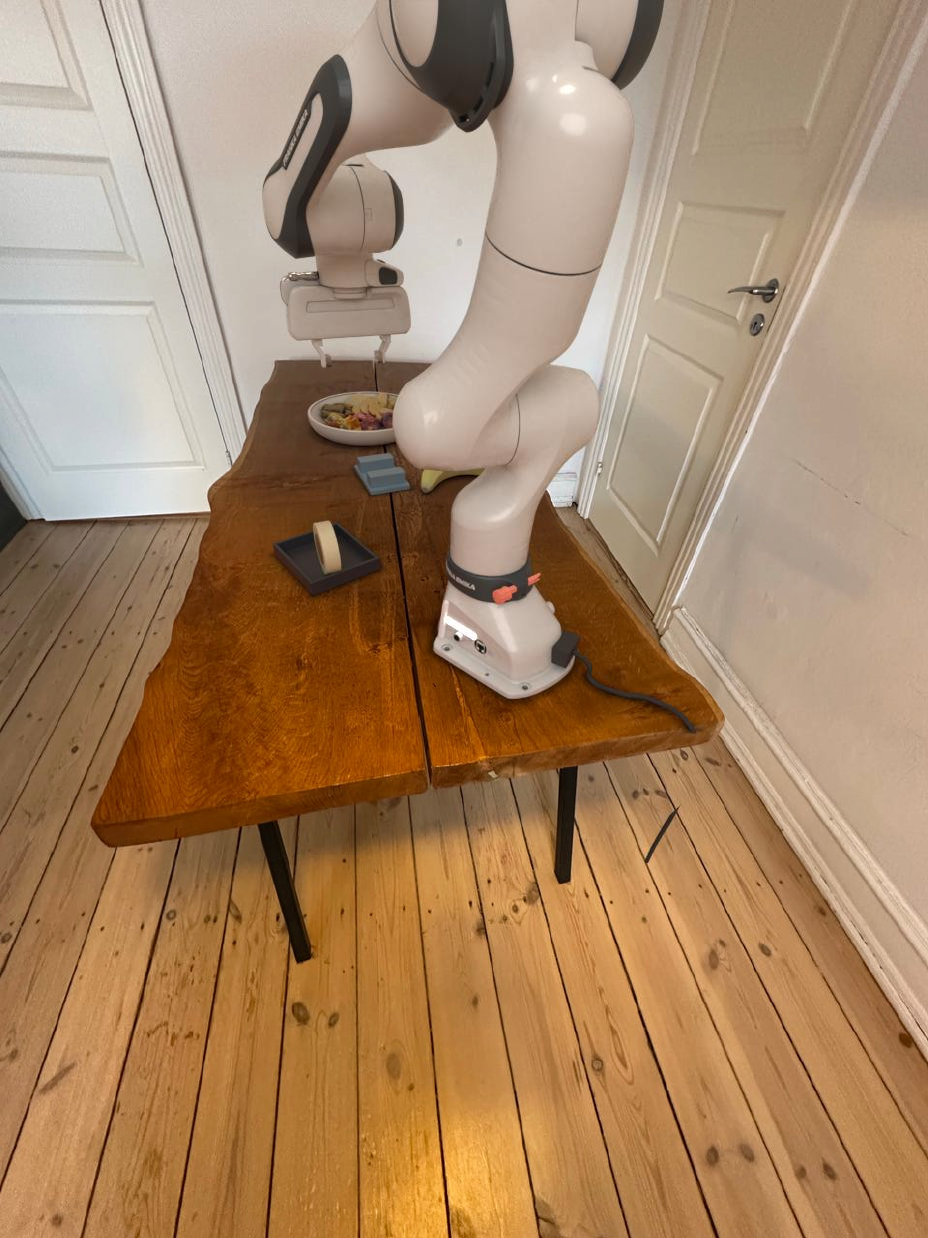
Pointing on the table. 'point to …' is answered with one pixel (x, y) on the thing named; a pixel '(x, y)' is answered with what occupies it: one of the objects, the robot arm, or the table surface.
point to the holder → (381, 474)
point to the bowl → (355, 418)
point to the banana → (442, 477)
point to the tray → (306, 564)
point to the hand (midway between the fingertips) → (353, 364)
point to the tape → (327, 547)
